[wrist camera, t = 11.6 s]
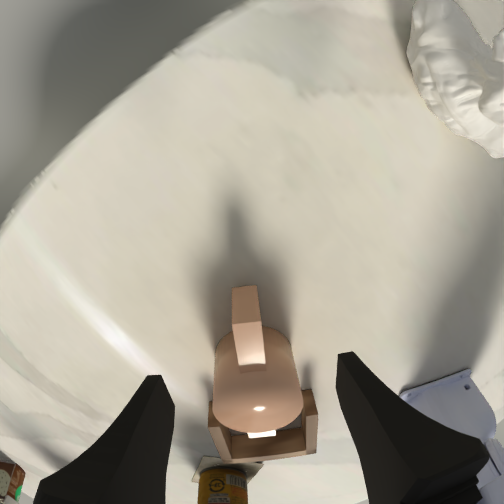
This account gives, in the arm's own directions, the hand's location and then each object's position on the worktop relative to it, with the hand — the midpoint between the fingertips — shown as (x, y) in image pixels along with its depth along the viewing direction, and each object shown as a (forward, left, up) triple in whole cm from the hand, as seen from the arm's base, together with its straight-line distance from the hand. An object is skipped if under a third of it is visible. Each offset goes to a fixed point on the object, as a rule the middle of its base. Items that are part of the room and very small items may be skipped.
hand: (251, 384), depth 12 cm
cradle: (0, +16, -10) cm, 19 cm away
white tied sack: (-15, -12, -10) cm, 21 cm away
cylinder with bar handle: (0, +6, -10) cm, 12 cm away
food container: (+52, +39, -10) cm, 66 cm away
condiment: (+6, +28, -10) cm, 30 cm away
